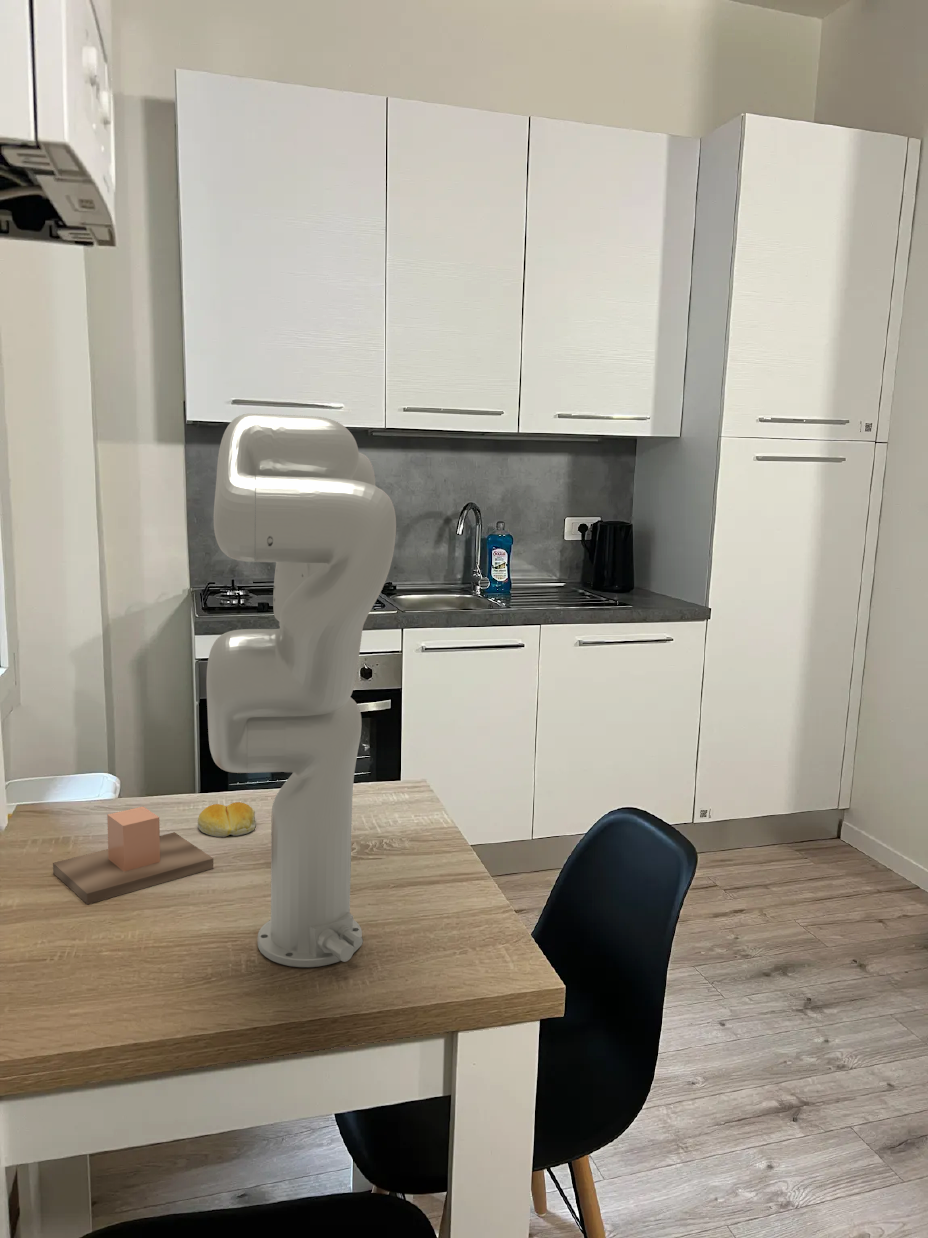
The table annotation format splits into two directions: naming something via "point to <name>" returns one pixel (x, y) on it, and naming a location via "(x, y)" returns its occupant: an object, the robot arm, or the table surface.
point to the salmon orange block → (133, 838)
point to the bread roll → (227, 820)
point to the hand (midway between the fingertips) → (301, 672)
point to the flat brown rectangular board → (105, 880)
